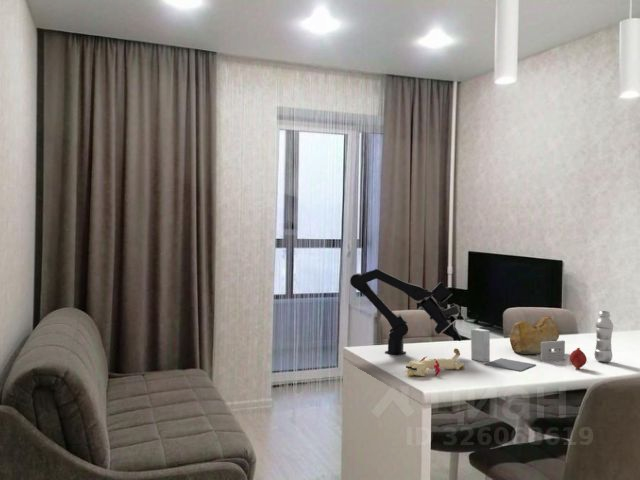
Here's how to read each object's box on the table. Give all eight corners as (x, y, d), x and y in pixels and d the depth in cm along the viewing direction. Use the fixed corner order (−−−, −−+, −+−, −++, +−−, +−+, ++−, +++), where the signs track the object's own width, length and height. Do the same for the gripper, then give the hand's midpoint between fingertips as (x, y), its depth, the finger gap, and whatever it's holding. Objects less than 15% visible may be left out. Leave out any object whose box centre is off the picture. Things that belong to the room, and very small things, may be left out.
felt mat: (520, 371, 206) (520, 370, 206) (484, 364, 215) (484, 363, 215) (535, 365, 216) (535, 364, 216) (501, 359, 226) (501, 358, 226)
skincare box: (490, 360, 222) (490, 330, 222) (483, 362, 219) (484, 331, 219) (476, 357, 227) (477, 327, 227) (470, 359, 224) (470, 328, 224)
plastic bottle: (610, 360, 227) (612, 311, 227) (613, 364, 220) (615, 313, 220) (593, 359, 229) (594, 310, 229) (595, 362, 223) (596, 312, 222)
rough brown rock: (534, 347, 256) (532, 314, 256) (565, 351, 241) (563, 316, 242) (496, 353, 245) (494, 318, 246) (526, 357, 230) (523, 320, 231)
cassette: (561, 359, 229) (562, 340, 229) (565, 360, 227) (566, 341, 227) (539, 361, 224) (539, 341, 224) (542, 362, 222) (543, 342, 222)
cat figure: (448, 369, 213) (397, 371, 199) (450, 346, 213) (399, 347, 200) (468, 375, 205) (417, 378, 191) (470, 351, 205) (419, 352, 191)
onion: (566, 366, 215) (566, 345, 215) (580, 366, 215) (581, 345, 215) (574, 370, 209) (575, 349, 209) (589, 370, 210) (589, 349, 209)
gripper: (443, 300, 219) (472, 330, 215) (452, 295, 236) (479, 323, 232) (423, 318, 223) (451, 349, 218) (433, 312, 240) (459, 341, 236)
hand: (460, 340), depth 226 cm, fingers closed
